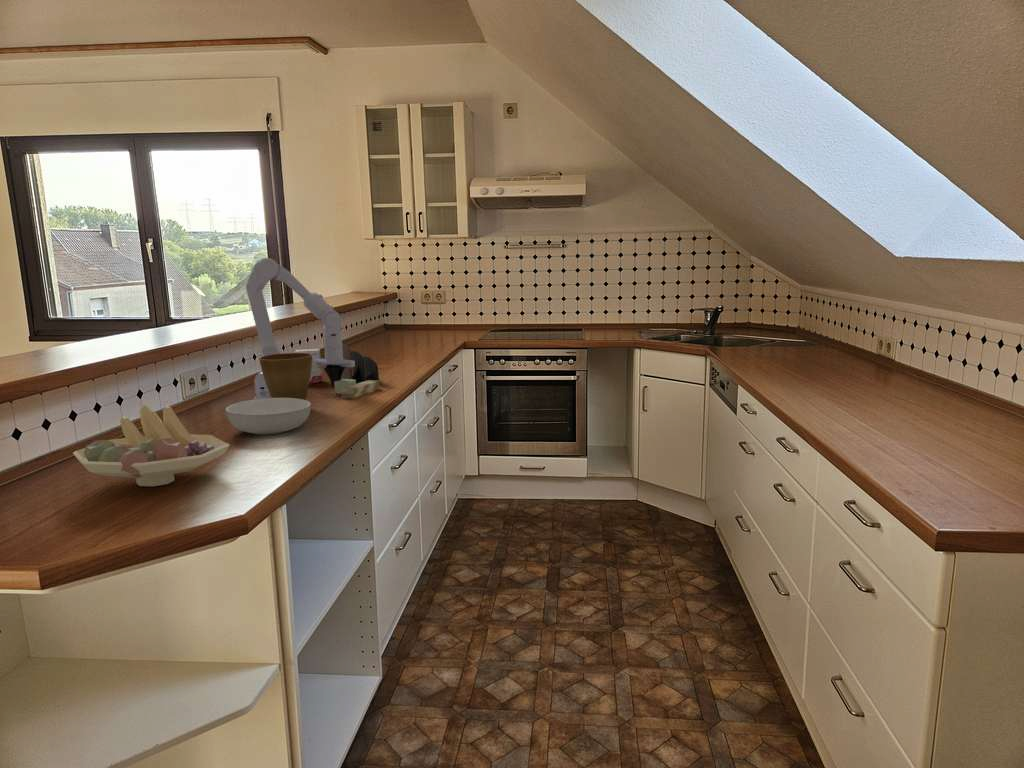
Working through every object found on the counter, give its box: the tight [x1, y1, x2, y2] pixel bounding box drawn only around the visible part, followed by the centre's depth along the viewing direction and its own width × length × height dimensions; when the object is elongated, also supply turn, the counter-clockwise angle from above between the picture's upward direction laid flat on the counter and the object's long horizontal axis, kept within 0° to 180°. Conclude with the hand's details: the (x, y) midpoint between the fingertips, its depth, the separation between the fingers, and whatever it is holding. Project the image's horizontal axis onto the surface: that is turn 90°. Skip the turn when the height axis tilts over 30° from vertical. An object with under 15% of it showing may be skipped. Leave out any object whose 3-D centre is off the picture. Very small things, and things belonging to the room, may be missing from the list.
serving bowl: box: [225, 398, 312, 436], centre depth 183 cm, size 21×21×7 cm
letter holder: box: [341, 343, 380, 384], centre depth 248 cm, size 10×20×14 cm, turn 24°
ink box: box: [293, 348, 323, 384], centre depth 250 cm, size 9×5×12 cm, turn 103°
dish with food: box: [72, 404, 231, 487], centre depth 142 cm, size 28×28×14 cm
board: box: [341, 380, 380, 399], centre depth 230 cm, size 16×4×3 cm, turn 159°
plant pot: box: [258, 352, 312, 400], centre depth 208 cm, size 15×15×16 cm
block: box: [334, 379, 356, 395], centre depth 232 cm, size 5×5×4 cm
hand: (335, 387), depth 233 cm, fingers closed
